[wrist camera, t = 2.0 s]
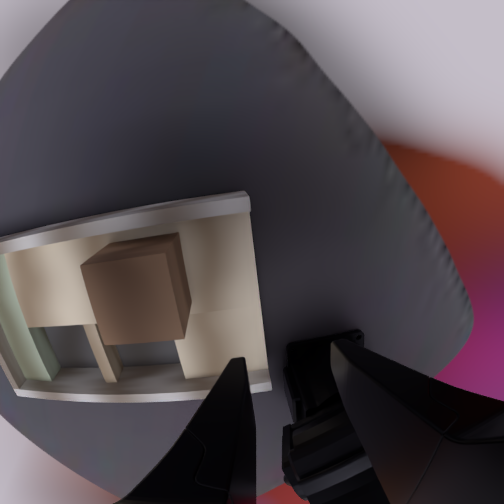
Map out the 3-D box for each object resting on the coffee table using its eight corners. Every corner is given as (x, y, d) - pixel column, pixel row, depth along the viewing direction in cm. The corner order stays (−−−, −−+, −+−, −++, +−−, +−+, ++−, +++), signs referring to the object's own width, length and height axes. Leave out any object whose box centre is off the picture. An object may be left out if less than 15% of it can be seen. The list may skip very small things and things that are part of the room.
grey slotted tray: (244, 190, 20) (249, 196, 16) (265, 358, 24) (272, 390, 20) (-12, 240, 19) (-41, 253, 15) (35, 371, 23) (17, 395, 19)
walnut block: (178, 232, 18) (165, 253, 14) (191, 301, 19) (184, 339, 15) (109, 243, 18) (79, 265, 13) (126, 309, 19) (104, 345, 15)
